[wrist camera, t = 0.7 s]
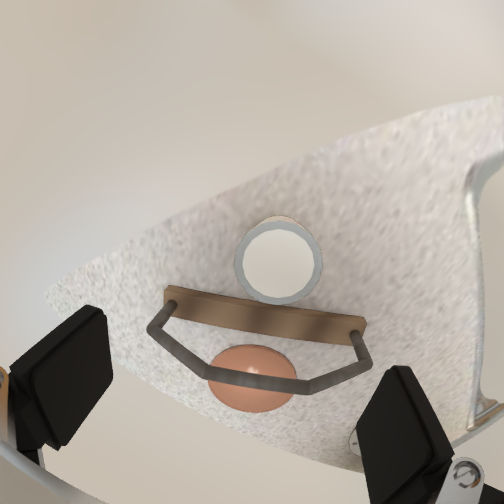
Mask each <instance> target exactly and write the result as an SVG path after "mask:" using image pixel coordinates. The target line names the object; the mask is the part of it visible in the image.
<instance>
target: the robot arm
mask: <svg viewBox="0 0 504 504" xmlns="http://www.w3.org/2000/svg"><path fill="white" fill-rule="evenodd" d="M9 367H10V370H11V372H10V373H9V374H7V372H6V371H5V370H4V369H3V368H2V367H0V504H108V503H105V502H103V501H101V500H99V499H97V498H95V497H93V496H91V495H89V494H87V493H85V492H83V491H81V490H79V489H77V488H75V487H73V486H72V485H70V484H68V483H66V482H65V481H63V480H61V479H59V478H58V477H56V476H54V475H53V474H51V473H49V472H48V471H46V470H45V464H44V459H43V453H42V446H43V445H44V444H45V443H46V444H47V445H48V446H50V447H52V448H53V449H55V450H57V451H58V450H59V449H60V447H61V446H66V445H67V444H68V443H69V441H70V440H71V438H72V437H73V435H74V434H75V433H76V431H77V430H78V428H79V427H80V426H81V424H82V422H83V421H84V420H85V418H86V417H87V416H88V414H89V413H90V411H91V410H92V409H93V407H94V406H95V405H96V403H97V402H98V400H99V399H100V398H101V396H102V395H103V394H104V392H105V391H106V389H107V388H108V387H109V385H110V384H111V382H112V380H113V369H112V363H111V354H110V346H109V336H108V325H107V317H106V315H104V313H103V311H102V309H100V308H97V307H94V306H91V305H85V306H83V307H82V308H81V309H79V310H78V311H77V312H75V313H74V314H73V315H71V316H70V317H69V318H68V319H66V320H65V321H64V322H63V323H61V324H60V325H59V326H58V327H56V328H55V329H54V330H53V331H51V332H50V333H49V334H48V335H46V336H45V337H44V338H43V339H41V340H40V341H39V342H38V343H37V344H35V345H34V346H33V347H32V348H31V349H29V350H28V351H27V352H26V353H25V354H24V355H22V356H21V357H20V358H19V359H18V360H16V361H15V362H14V363H13V364H12V365H11V366H9ZM349 444H350V449H351V451H352V452H353V453H354V454H356V455H358V456H361V457H362V462H363V467H364V472H365V476H366V482H367V488H368V493H369V498H370V504H504V492H502V491H500V490H497V489H495V488H493V487H491V486H489V485H487V484H484V471H483V469H482V467H481V465H480V464H479V463H478V462H477V461H475V460H473V459H471V458H467V457H461V458H458V459H456V460H455V461H452V459H451V458H452V456H453V455H454V454H455V453H454V451H453V449H452V447H451V445H450V442H449V440H448V438H447V436H446V434H445V432H444V430H443V428H442V426H441V424H440V422H439V420H438V418H437V416H436V414H435V412H434V410H433V408H432V406H431V404H430V402H429V401H428V399H427V397H426V395H425V393H424V391H423V389H422V388H421V386H420V384H419V382H418V380H417V379H416V377H415V375H414V373H413V371H412V370H411V368H410V367H409V366H398V365H394V366H392V367H391V368H390V369H388V370H386V372H385V373H384V375H383V377H382V379H381V381H380V383H379V385H378V387H377V389H376V391H375V392H374V394H373V396H372V398H371V400H370V401H369V403H368V405H367V407H366V408H365V410H364V412H363V414H362V415H361V417H360V419H359V420H358V422H357V425H356V429H355V430H354V431H353V433H352V434H351V437H350V439H349Z"/></svg>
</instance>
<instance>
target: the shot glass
mask: <svg viewBox="0 0 504 504" xmlns="http://www.w3.org/2000/svg"><path fill="white" fill-rule="evenodd" d="M234 266H235V271H236V275H237V279H238V281H239V283H240V284H241V285H242V287H243V288H244V289H245V291H246V292H247V293H248V294H249V295H251V296H252V297H254V298H256V299H257V300H259V301H260V302H263V303H268V304H273V305H283V304H289V303H294V302H296V301H298V300H300V299H301V298H303V297H305V296H306V295H308V294H309V293H310V292H311V290H312V289H313V288H314V287H315V285H316V284H317V283H318V281H319V278H320V274H321V271H322V267H323V263H322V256H321V249H320V247H319V246H318V244H317V242H316V241H315V239H314V238H313V236H312V234H311V233H309V232H308V231H307V230H306V229H305V228H303V227H302V226H301V225H300V224H298V223H297V222H295V221H294V220H292V219H291V218H288V217H284V216H274V217H268V218H267V219H265V220H263V221H262V222H260V223H259V224H258V225H256V226H255V227H254V228H253V229H251V230H250V231H249V232H247V233H246V235H245V236H244V238H243V239H242V241H241V242H240V244H239V245H238V247H237V250H236V255H235V261H234Z"/></svg>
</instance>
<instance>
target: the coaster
mask: <svg viewBox="0 0 504 504" xmlns="http://www.w3.org/2000/svg"><path fill="white" fill-rule="evenodd" d="M211 365H212V366H217V367H222V368H227V369H232V370H237V371H243V372H249V373H255V374H261V375H268V376H275V377H282V378H290V379H296V373H295V370H294V368H293V366H292V364H291V363H290V362H289V360H288V359H287V358H285V357H284V356H283V355H282V354H280V353H278V352H277V351H275V350H272V349H270V348H267V347H263V346H258V345H240V346H235V347H232V348H229V349H227V350H225V351H223V352H221V353H220V354H219V355H218V356H217V357H216V358H215V359H214V360H213V362H212V363H211ZM208 384H209V387H210V389H211V391H212V393H213V394H214V395H215V396H216V397H217V398H218V399H219V400H220V401H221V402H222V403H224V404H225V405H227V406H229V407H231V408H234V409H236V410H240V411H244V412H251V413H259V412H267V411H271V410H274V409H276V408H279V407H280V406H282V405H284V404H285V403H286V402H287V401H289V400H290V398H291V397H292V396H293V394H290V393H281V392H274V391H267V390H260V389H253V388H247V387H241V386H236V385H230V384H225V383H220V382H215V381H210V380H208Z"/></svg>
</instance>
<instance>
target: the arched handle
mask: <svg viewBox="0 0 504 504" xmlns="http://www.w3.org/2000/svg"><path fill="white" fill-rule="evenodd" d="M170 316H172V317H176V318H181V319H185V320H190V321H194V322H199V323H204V324H209V325H214V326H219V327H224V328H229V329H235V330H240V331H246V332H252V333H258V334H264V335H270V336H277V337H283V338H290V339H297V340H305V341H313V342H321V343H329V344H338V345H348V346H353V347H354V350H355V352H356V355H357V358H358V360H359V361H358V362H355V363H353V364H350V365H348V366H346V367H343V368H340V369H338V370H335V371H333V372H330V373H327V374H325V375H322V376H319V377H316V378H314V379H311V380H298V379H290V378H282V377H275V376H268V375H261V374H255V373H249V372H243V371H237V370H232V369H227V368H222V367H217V366H212V365H208V364H207V363H205V362H204V361H203V360H201V359H200V358H199V357H197V356H196V355H195V354H193V353H192V352H191V351H189V350H188V349H187V348H185V347H184V346H183V345H181V344H180V343H179V342H177V341H176V340H175V339H174V338H172V337H171V336H170V335H169V334H167V333H166V332H165V331H164V330H162V327H163V326H164V325H165V323H166V322H167V321H168V319H169V318H170ZM366 325H367V323H366V321H365V319H364V317H358V316H350V315H342V314H334V313H327V312H320V311H313V310H306V309H299V308H292V307H286V306H280V305H273V304H267V303H261V302H255V301H249V300H244V299H238V298H232V297H227V296H221V295H216V294H211V293H205V292H200V291H195V290H190V289H185V288H180V287H175V286H170V285H169V286H168V287H167V288H166V289H165V290H164V306H163V308H162V309H161V310H160V311H159V313H158V314H157V315H156V316H155V317H154V319H153V320H152V321H151V322H150V323H149V325H148V326H147V329H146V330H147V333H148V334H149V335H150V336H151V337H152V338H153V339H154V340H156V341H157V342H158V343H159V344H160V345H161V346H162V347H164V348H165V349H166V350H167V351H168V352H170V353H171V354H172V355H173V356H174V357H176V358H177V359H178V360H179V361H180V362H182V363H183V364H184V365H185V366H187V367H188V368H189V369H190V370H192V371H193V372H194V373H195V374H197V375H198V376H199V377H201V378H202V379H206V380H210V381H215V382H220V383H225V384H230V385H236V386H241V387H247V388H253V389H260V390H267V391H274V392H281V393H290V394H299V395H312V394H314V393H317V392H320V391H322V390H325V389H327V388H329V387H332V386H334V385H337V384H339V383H341V382H344V381H346V380H348V379H350V378H353V377H355V376H357V375H359V374H361V373H364V372H366V371H368V370H370V369H371V368H372V366H373V362H372V359H371V357H370V355H369V352H368V350H367V348H366V345H365V343H364V341H363V339H362V336H363V334H364V331H365V328H366Z"/></svg>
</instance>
